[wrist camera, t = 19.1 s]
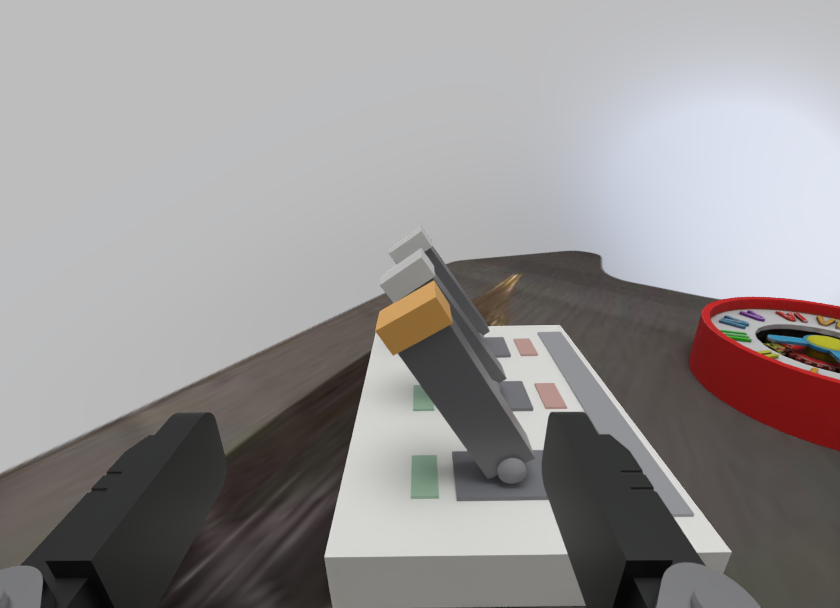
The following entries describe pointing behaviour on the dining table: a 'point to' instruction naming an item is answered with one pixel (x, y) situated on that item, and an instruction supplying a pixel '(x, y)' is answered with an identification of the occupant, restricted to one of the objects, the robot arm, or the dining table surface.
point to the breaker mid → (420, 273)
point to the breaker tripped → (456, 381)
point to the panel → (474, 489)
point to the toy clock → (774, 363)
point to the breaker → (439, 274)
